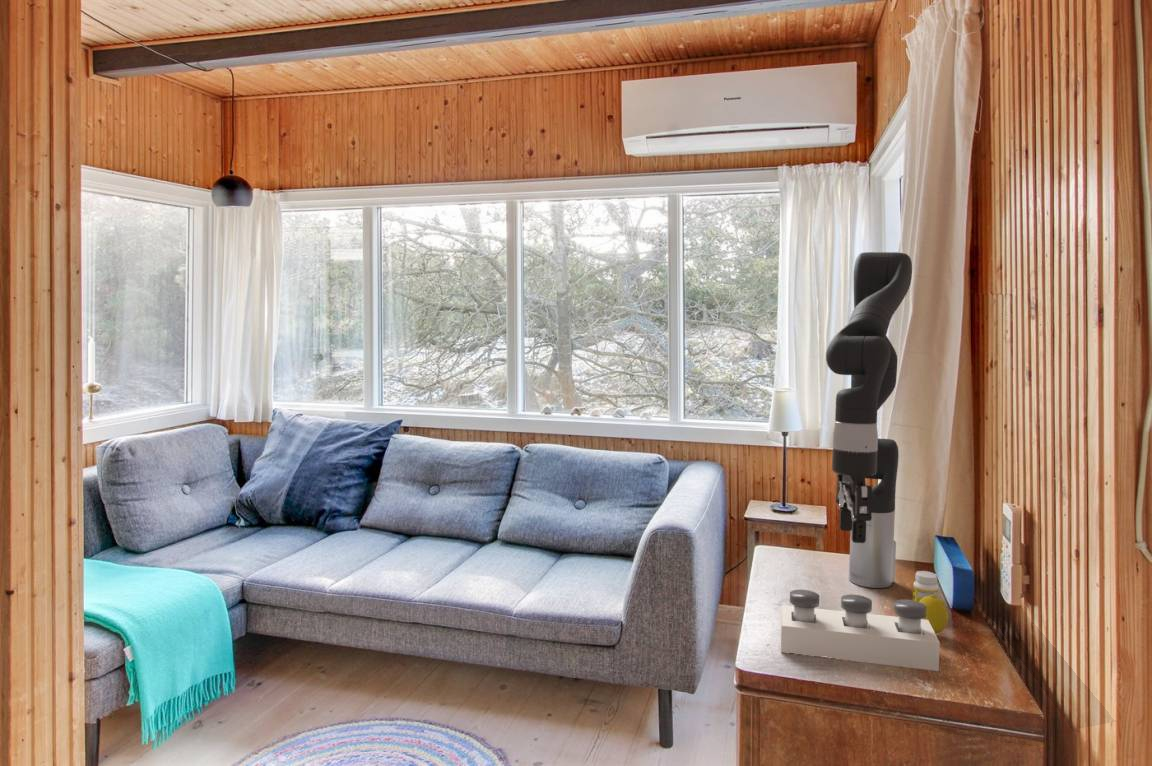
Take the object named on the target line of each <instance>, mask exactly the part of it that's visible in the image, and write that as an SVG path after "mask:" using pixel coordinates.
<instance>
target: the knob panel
mask: <svg viewBox="0 0 1152 766" xmlns="http://www.w3.org/2000/svg"><path fill="white" fill-rule="evenodd" d="M780 610H781V611H780V653H781V652H785V653H784V654H789V653H795V654H794V655H797V654H804V655H803V656H806V655H814V656H827V657H832V658H838V659H837V660H840V659H844V660H843V661H848V660H851V661H850V662H857V661H859V663H866V662H867V663H868V664H874V663H875V664H876V665H884V666H891V667H900V666H901V668H908V669H909V668H910V669H917V670H918V669H919V670H925V671H926V670H927V671H935V672H940V670H939V668H940V653H941V652H940V649H941V643H940V640H939V639H938V636H937V633H936V634H935V632H934V630H933V628H932V626H931V624H930V623H929V621H928V620H924V619H921V628H920V634H912V633H903V632H898V622H899V616H893V615H883V614H872V613H867V620H866V629H865V628H856V627H846V626H845V611H846V610H845V611H844V610H833V609H825V608H824V609H823V608H816V607H815V608H814V623H808V622H799V621H794V605H787V604H785V605H784V604H782V605H781V606H780ZM814 656H813V657H814ZM875 664H874V665H875Z"/></svg>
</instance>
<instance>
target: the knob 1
mask: <svg viewBox="0 0 1152 766" xmlns="http://www.w3.org/2000/svg"><path fill="white" fill-rule="evenodd" d="M789 603H790V604H791V605H792V606H794V621H799V622H808V623H814V608H815V609H816V608H818V607H819V605H820V595H819V594H818V593H817V592H815V591H812V590H808V589H794V590H791V591H790V592H789Z"/></svg>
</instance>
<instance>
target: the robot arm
mask: <svg viewBox="0 0 1152 766" xmlns="http://www.w3.org/2000/svg"><path fill="white" fill-rule="evenodd" d="M912 275H913V263H912V259H911V257H910V255H909V254H907V253H903V252H897V251H895V252H890V251H888V252H886V251H884V252H882V251H881V252H880V251H879V252H875V251H874V252H873V251H872V252H870V251H869V252H865V251H864V252H860V253H859V254H858V255H857V257H856V259H855V261H854V269H853V310H852V313H851V315H850V318H849V320H848V323H847V324H846V325H845V326H844V327H842V328H841V330H839V331H838V332H837V333H836V334H835V335H834V336H833V337H832V339H830V341H829V344H828V346H827V350H826V352H825V361H826V364H827V366H828V368H829V370H830V371H832V373H834V374H836V375H841V376H850V381H851V382H850V387H849V388H843V389H841V390H839V391H838V392H837V393H836V397H835V410H834V411H835V413H834V415H835V417H834V427H833V433H832V435H833V436H832V437H833V439H832V463H831V469H832V472H833V473H836V474H837V475H836V476H837V481H836V496H835V498H836V499H835V502H836V504H837V505H838V507H837V508H838V510H839V523H838V524H839V530H841V531H843V532H844V531H845V532H847V531H848V532H850V539H849V542H850V543H849V564H848V565H849V568H848V573H849V574H848V580H849V581H850V582H852V584H855V585H857V586H860V587H861V586H862V587H865V588H873V589H884V588H889V587H891V586H892V585H893V583H895V580H896V579H895V578H896V554H897V553H896V552H897V542H896V541H895V523H896V522H895V519H896V518H895V517H896V516H895V515H896V488H897V477H898V468H899V446H898V443H897V442H896V441H895V440H894V439H891V438H879V435H878V433H879V432H878V410H880V408H881V407H882V406H883V405H884V403H885V402H886V401H887V400H888V399H889V397H890V396H891V394H892V393H893V392H894V390H895V388H896V385H897V375H898V355H897V352H896V349H895V347H894V346H893V344H892V343H891V341H890V339H889V338H888V336H887V333H888V330H889V327H890V323H891V320H892V318H893V316H894V314H895V313H896V311H897V310H898V308H899V307H900V306H901V303H902V302H903V300H904V299H905V297H906V296H907V294H908V292H909V290H910V286H911V284H912V277H913V276H912ZM866 479H867V480H868V479H869V480H870V479H871V480H872V479H873V480H880V482H879V483H878V484H876V485H875V486H873V487H872V485H866V482H867V481H866Z"/></svg>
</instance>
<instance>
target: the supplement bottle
mask: <svg viewBox="0 0 1152 766" xmlns="http://www.w3.org/2000/svg"><path fill="white" fill-rule="evenodd" d="M914 579H915V581H914V582H913V585H912V586H913V587H912V600H913V601H917V602H919V601H920V600H921V599H922V598H924V597H926V596H930V595H935V596H936V597H938V598H939V596H940V595H939V593H940V592H939V590H940V587H939V586H940V585H938V575H937V574H936V573H935V572H931V571H927V570H918V571H916V572H915V578H914Z"/></svg>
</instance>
